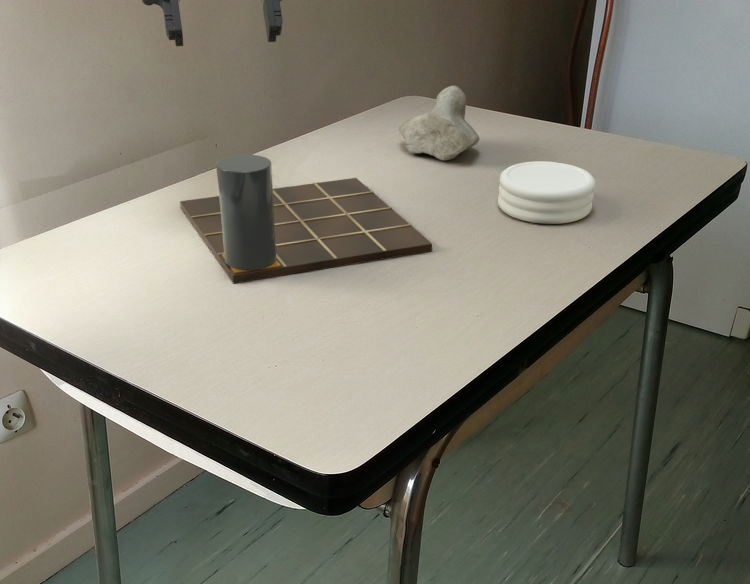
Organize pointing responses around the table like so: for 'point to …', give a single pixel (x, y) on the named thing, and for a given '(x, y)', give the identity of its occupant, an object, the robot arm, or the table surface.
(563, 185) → the white ribbed disc
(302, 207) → the board
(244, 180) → the glossy charcoal cylinder
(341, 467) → the table surface
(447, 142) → the stone
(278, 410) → the table surface
